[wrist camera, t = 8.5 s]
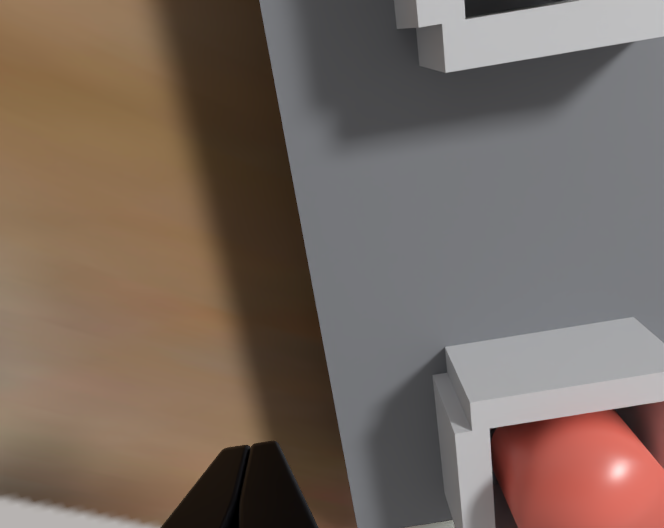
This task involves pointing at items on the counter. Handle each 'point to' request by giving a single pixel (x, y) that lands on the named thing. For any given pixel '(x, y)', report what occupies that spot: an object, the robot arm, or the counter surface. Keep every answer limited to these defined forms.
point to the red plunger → (578, 473)
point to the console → (475, 229)
